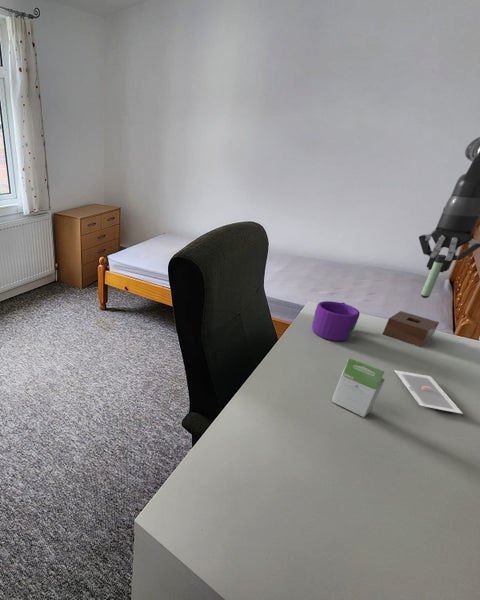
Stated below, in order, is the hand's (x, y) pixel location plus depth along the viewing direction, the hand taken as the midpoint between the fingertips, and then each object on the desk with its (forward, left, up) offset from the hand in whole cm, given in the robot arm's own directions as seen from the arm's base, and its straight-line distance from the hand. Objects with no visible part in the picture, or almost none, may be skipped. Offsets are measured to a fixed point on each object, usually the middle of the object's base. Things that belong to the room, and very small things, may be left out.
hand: (436, 270), depth 102 cm
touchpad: (+32, +13, -23) cm, 42 cm away
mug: (+17, -15, -23) cm, 32 cm away
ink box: (+53, +5, -23) cm, 58 cm away
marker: (0, 0, -9) cm, 9 cm away
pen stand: (0, 0, -23) cm, 23 cm away
